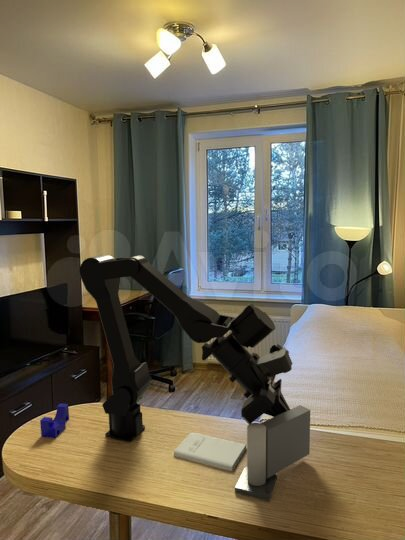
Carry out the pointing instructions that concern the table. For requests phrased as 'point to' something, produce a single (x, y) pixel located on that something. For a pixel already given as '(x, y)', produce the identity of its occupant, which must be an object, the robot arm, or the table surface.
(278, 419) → the swing arm
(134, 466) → the table surface
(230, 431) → the table surface
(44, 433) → the cable holder
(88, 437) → the table surface
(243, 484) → the arm mount
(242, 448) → the external hard drive
